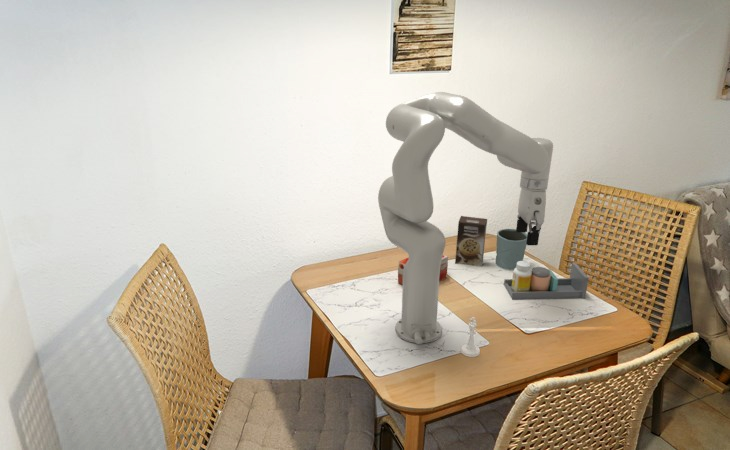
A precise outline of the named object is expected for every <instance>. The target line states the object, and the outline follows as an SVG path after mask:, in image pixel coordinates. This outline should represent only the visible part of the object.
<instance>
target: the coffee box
mask: <svg viewBox="0 0 730 450" xmlns="http://www.w3.org/2000/svg"><path fill="white" fill-rule="evenodd" d="M487 225H488V218H483V217H482V218H481V217H472V216H465V215H460V217H459V220H458V224H457V235H456V236H457V237H456V247H455V248H456V249H455V259H454V265H467V266H473V267H474V266H475V267H482V266H483V264H484V254H485V244H486V234H487Z"/></svg>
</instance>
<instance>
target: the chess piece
mask: <svg viewBox="0 0 730 450" xmlns="http://www.w3.org/2000/svg"><path fill="white" fill-rule="evenodd" d="M477 325H478V324H477V320H476V319H475V317H474V316H472V317H471V318H469V323H468V327H469V330H468V331H467V335H468V336H469V337H468V340H467V343H464V344H463V345H462V346H461V347H460V353H461V354H462V355H463V356H466V357H469V358H475V357H478V356H479V355H480V354H481V349H480V347H479V346H478V345H476V344H475V341H474V337H475V335H476V334H477V332H476V328H477Z"/></svg>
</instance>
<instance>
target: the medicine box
mask: <svg viewBox="0 0 730 450" xmlns="http://www.w3.org/2000/svg"><path fill="white" fill-rule="evenodd" d="M408 259H409V257H407V258H404V259H402V260H399V261H398V266H397V267H398V269H397V284H399V285H401V286H403V269H404V266H405V264H406V263H407V261H408ZM448 261H449V256H448V255H445V254H443V256H442V260H441V265H440V274H439V282H441V281H444V280H445V279H447V275H448V265H449V262H448Z"/></svg>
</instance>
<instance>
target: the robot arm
mask: <svg viewBox="0 0 730 450" xmlns="http://www.w3.org/2000/svg"><path fill="white" fill-rule="evenodd" d="M385 129H386V131H387V133H388V134H389V135H390V136H391V137H392V138H393V139H395V140H398V141H401V142H402V144H401V145H400V147H399V149H398V150H397V152H396V154H395V156H394V158H393V160H392V164H391V171H392V176H389V177H388V178H386V179H384V181H383V182H382V183H381V185H380V187H379V190H378V193H377V194H378V196H377V199H378V207H379V210H380V216H381V220H382V224H383V229H384V232H385V236H386V238H387V239H388V241H389V243H391V244H393V245H394V246H396V247H397V248H399V249H400V250H402V251H403V252H404V253H407V255H408V258H409V259H408V261H407V263H406V264H405V266H404V269H403V285H402V292H401V293H402V295H401V299H402V300H401V318H400V319H399V320H397V322H396V323H395V333H396V334H397V336H398V337H399V338H400V339H402V340H405V341H406V342H409V343H412V344H413V343H414V344H416V345H421V344H428V343H431V342H434V341H436V340H438V339H439V338H441V337H442V332H443V327H442V325H441V323H440V322H439V321H438V306H439V291H440V289H439V288H440V281H439V274H440V265H441V260H442V256H443V255H444V252H445V248H446V238H445V235H444V233H443V232H442V229H440V228H439V227H438V226H436V225H435V224H433V223H431V222H429V221H428V220H429V219H430V218H431V217H432V215H433V212H434V199H433V193H432V187H431V183H430V182H431V180H430V175H429V161H430V160H431V157H432V155H433V153H434V152H435V150H436V149H437V148H438V146H439V145H440V143H441V142H442V140H443V139H444V136H445V132H446V129H447V130H449V131H451V132H453V133H455V134H456V135H458V136H459V137H462V139H464V140H466V141H467V142H468V143H470V144H472V145H473V146H474V147H475V148H477V149H480V150H482V151H484V152H486V153H489V154H491V155H495V156H496V159H497V161H498V162H499V163H500V164H502V165H503V166H505V167H508V168H511V169H514V170H518V171H521V174H520V181H519V188H521V189H520V194H519V198H518V207H517V213H518V214H517V220H516V228H515V229H516V232H525V233H526V234H527V242H526V244H527V245H526V246H538V245H539V238H540V233H541V229H542V225H543V224H544V222H545V217H546V216H545V215H546V205H547V204H546V203H547V190H548V185H549V177H550V172H551V165H552V157H553V150H554V143H553V141H551V140H549V139H547V138H544V137H543V138H541V137H531V136H529V135H527V134H526V133H523V132H521V131H519V130H517V129H516V128H514V127H512V126H510V125H509V124H507V123H506V122H503V121H500V120H499V119H498V118H497V117H495V116H494V115H492V114H491V113H489V112H488V111H486V109H484V108H482V107H481V106H480V105H479V104H477V103H475V101H473V100H471V99H469V98H468V97H466V96H464V95H461V94H455V93H449V92H447V91H446V92H445V91H436V92H432V93H429V94H425V95H423V96H420V97H417V98H414V99H411V100H408V101H405V102H403V103H400V104H398V105H396V106H394V107H393V108H392V109H390V111H389V112H388V114H387V115H386V119H385Z"/></svg>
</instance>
